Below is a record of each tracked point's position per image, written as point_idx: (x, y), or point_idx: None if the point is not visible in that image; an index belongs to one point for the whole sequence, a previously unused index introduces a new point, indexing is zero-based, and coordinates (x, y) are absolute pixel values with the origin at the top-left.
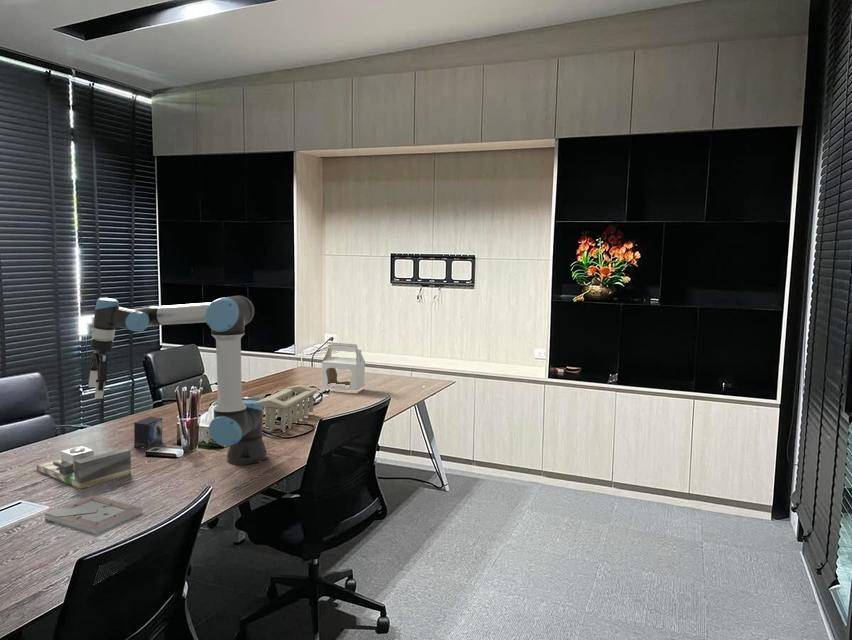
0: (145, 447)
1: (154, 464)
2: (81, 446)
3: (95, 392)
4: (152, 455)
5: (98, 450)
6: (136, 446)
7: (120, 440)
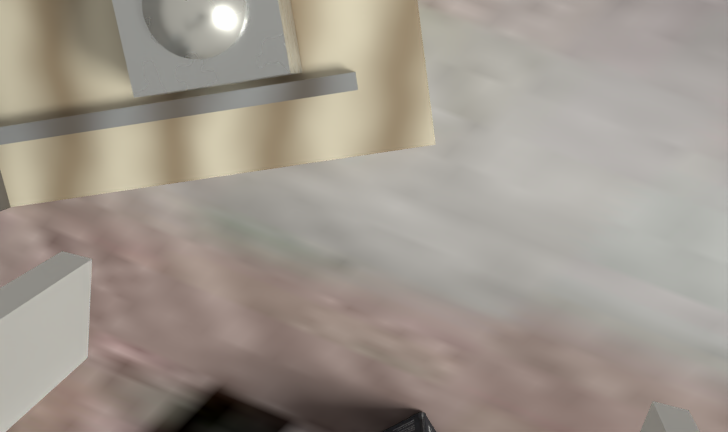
0: None
1: None
2: (277, 66)
3: (9, 295)
4: (210, 419)
5: (512, 244)
6: (407, 421)
7: (612, 411)
